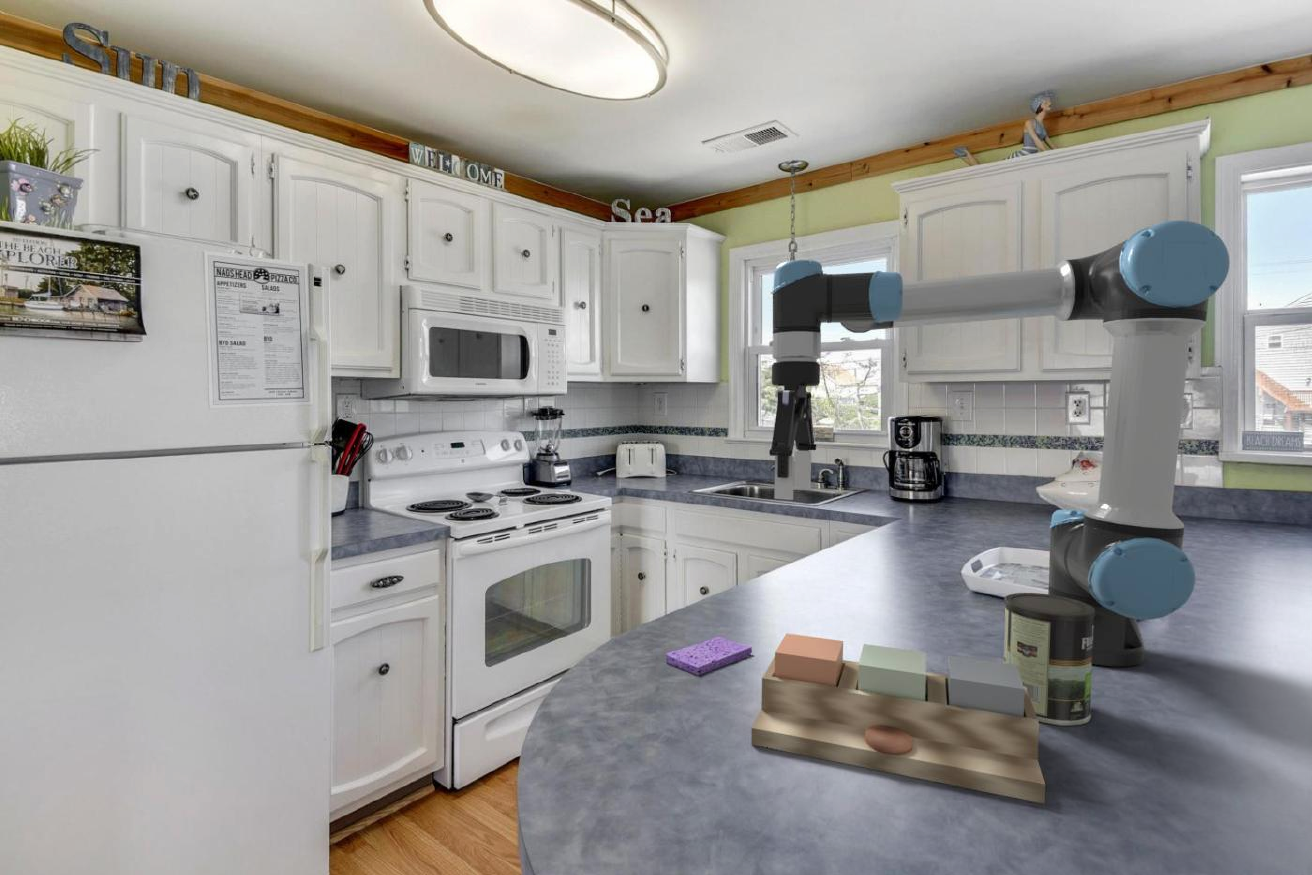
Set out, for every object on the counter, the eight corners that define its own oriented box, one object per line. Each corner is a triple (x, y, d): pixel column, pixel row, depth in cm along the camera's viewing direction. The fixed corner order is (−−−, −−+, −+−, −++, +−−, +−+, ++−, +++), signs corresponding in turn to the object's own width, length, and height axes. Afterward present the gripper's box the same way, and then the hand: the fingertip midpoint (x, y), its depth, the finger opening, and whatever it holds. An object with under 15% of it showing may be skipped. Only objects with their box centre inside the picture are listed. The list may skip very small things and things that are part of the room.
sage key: (924, 691, 84) (925, 652, 83) (924, 717, 77) (925, 674, 77) (863, 681, 86) (864, 643, 86) (857, 705, 80) (858, 664, 79)
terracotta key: (842, 678, 87) (843, 641, 87) (835, 701, 81) (836, 661, 80) (785, 669, 90) (786, 633, 90) (774, 691, 83) (775, 652, 83)
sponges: (664, 665, 103) (664, 653, 103) (719, 645, 112) (719, 634, 111) (697, 679, 98) (697, 666, 98) (752, 657, 106) (752, 645, 106)
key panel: (1024, 735, 81) (1026, 686, 81) (1044, 803, 67) (1046, 745, 67) (777, 693, 92) (778, 650, 92) (751, 744, 78) (752, 694, 78)
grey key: (1014, 705, 80) (1016, 664, 80) (1022, 733, 73) (1024, 689, 73) (947, 695, 83) (948, 655, 82) (949, 721, 76) (950, 678, 76)
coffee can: (1089, 702, 90) (1094, 599, 89) (1091, 734, 81) (1096, 620, 81) (1004, 685, 95) (1007, 587, 95) (997, 713, 87) (1000, 606, 86)
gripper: (789, 365, 119) (787, 483, 120) (751, 356, 96) (749, 502, 98) (832, 365, 116) (830, 486, 117) (803, 355, 93) (800, 505, 95)
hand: (793, 493), depth 107 cm, fingers open, 13 cm apart
